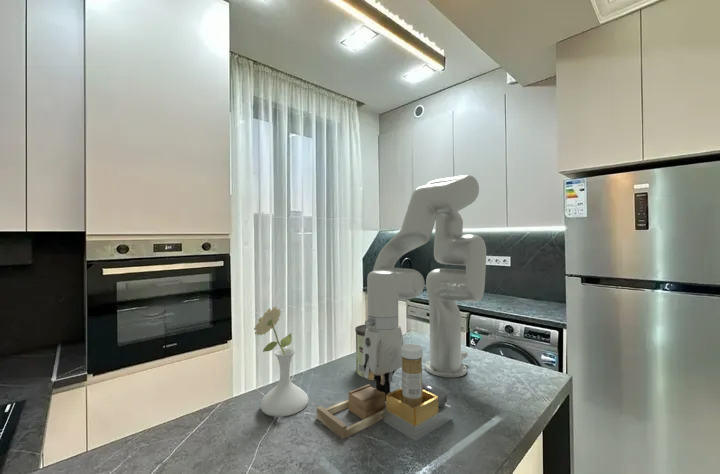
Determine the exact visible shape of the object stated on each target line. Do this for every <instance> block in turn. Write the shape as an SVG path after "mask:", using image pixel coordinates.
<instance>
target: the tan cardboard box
mask: <svg viewBox="0 0 720 474" xmlns="http://www.w3.org/2000/svg"><path fill="white" fill-rule="evenodd" d="M375 388H376V387H375ZM375 388H374V387H372V385H371V384H370V383H368V384H365V385H363V386H360V387H358V388H354V389H353V390H352V389H351V390H350V391H348V399H349V407H348V411H349V412H351V413H352V414H354V415H355V416H357V417H358V418H360V419H361V420H363V419H366V418H368V417H370V416H372V415H374V414H376V413H378V412H380V411H382V410H383V408H385V407H386V401H385V392H380V391H379V390H377V389H375Z"/></svg>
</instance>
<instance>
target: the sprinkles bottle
mask: <svg viewBox="0 0 720 474" xmlns="http://www.w3.org/2000/svg"><path fill="white" fill-rule="evenodd" d="M401 356H402V367H401V388H402V401H403V403H405V404H407V405H409V406H411V407H413V408H415V407H417V406H418V405H420V404H422V394H423V384H422V382H423V367H422V366H423V363H422V362H423V361H422V360H423V347H422V346H421V345H419V344H415V343H412V344H411V343H407V344H403V346H402V347H401Z"/></svg>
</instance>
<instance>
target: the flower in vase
mask: <svg viewBox="0 0 720 474" xmlns="http://www.w3.org/2000/svg"><path fill="white" fill-rule="evenodd" d="M281 312H282V311H281V308H278V307H277V306H273V307H272V309H271V308H268V309H267V310H266V312H264V313H263V316H261V317H259V318H258V319H257V320H258V322H257V323H256V324H255V327H254V328H253V330H254V331H255V332H254V335H256V336H262V335H266V334H267V333H269V332H270V330H271V329H273V332H274V336H275V339H276V341H271V342H269V343H268V344H267V345H266V346H265V347H264V348H263V350H262V353H264V352H271V351H273V350H274V348H276V346H277V345H278V346H279V349H275V350H274V352H273V354H274V355H275V356H276V358H277V360H278V364H279V365H278V366H279V380H278V382H277V384H276V386H274V387H273V388H271V389H270V390H269V391H268V392H267V393H266V394H265V395H264V396H263V398H262V399H261V401H260V405H259V408H260V410H261V411H262V412H263V413H264V414H265V415H267V416H270V417H274V418H275V417H277V418H279V417H288V416H292V415H295V414H297V413H299V412H301V411H303V410H304V409H305V408H306V407H307V406H308V404H309V401H310V399H309V396H308V394H307V392H306V391H304V390H303V389H302V388H301V387H299V386H297V384H294V383H293V382H292V380H291V375H290V374H291V373H290V368H291V361H292V357H293V356H294V354H295V353H296V349H294V348H290V347H288V346H290V345H291V344H292V341H293V338H292V337H293V336H292V333H289V334H288V335H286V336H285V337H283V338H282V339H281V340H280V341H279V338H278V335H277V331H276V328H275V325H276V324H277V323H278V322H279V321H280V316H281Z"/></svg>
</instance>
